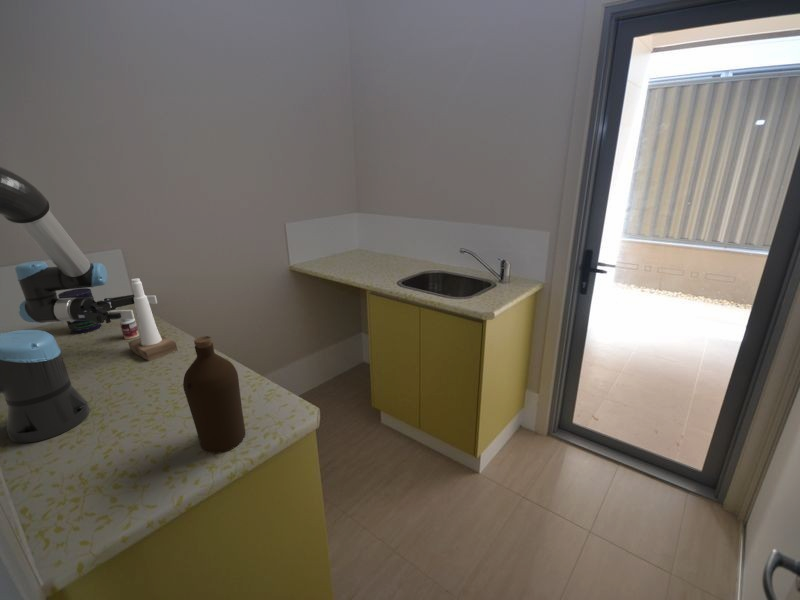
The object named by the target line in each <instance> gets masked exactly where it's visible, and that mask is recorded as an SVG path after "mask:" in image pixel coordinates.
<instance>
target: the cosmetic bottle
mask: <svg viewBox="0 0 800 600" xmlns="http://www.w3.org/2000/svg"><path fill="white" fill-rule="evenodd" d="M131 288H132V291H133V295H134V296H135V297H134V304H133V305H134V307H135V313H136V318H137V323H138V328H139V329H138V330H139V336H140V338H141V345H143V346H150V345H155V344H157V343H159V342H161V341H162V338H161V336H160V335H161V334H160V332H159V330H158V327H157V324H156V321H155V318H154V315H153V313H152V312H153V311H152V308H151V304H149V302H148V299H147V296H148V295H146V294H145V291H144V287H143V283H142V281H141V279H140V277H139V278H138V277H137V278H131Z"/></svg>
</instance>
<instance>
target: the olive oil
mask: <svg viewBox="0 0 800 600" xmlns="http://www.w3.org/2000/svg"><path fill="white" fill-rule="evenodd" d="M193 343H194V349H195V354H196V358H195V360H194V361H193V362H192V363H191V364H190V366H189V367H188V368H187V370H186V371H185V373H184V375H183V383H182V385H183V386H182V387H183V391H184V394H185V397H186V400H187V404H188V408H189V410H190V415H191V417H192V420H193V424H194V426H195V431H196V435H197V439H198V441H199V445H200V448H201V449H202V450H203V451H204V452H206V453H210V454H219V452H221V453H225V452H227V451H226V450H228V451H231V450H232V449H234V448H236V447H237V446H239V445H240V444H241V443H242V442H243V441H242V440H244V439H245V437H246V427H245V426H246V425H245V420H244V415H243V413H244V412H243V405H242V397H241V390H240V389H241V388H240V381H239V380H240V379H239V374H238V370H237V369H236V367H235V366H234V364H233V363H232V362H231V361H229V360H228V359H226V358H224V357H222V356H221V355H219V354H217V353H215V348H214V343H213V341H212V337H211V336H205V335H204V336H199V337H196V338H195V339H194V340H193ZM243 438H244V439H243ZM241 441H242V442H241ZM240 442H241V443H240ZM239 443H240V444H239ZM236 445H237V446H236ZM235 446H236V447H235ZM233 447H234V448H233ZM231 448H232V449H231ZM224 451H225V452H224Z"/></svg>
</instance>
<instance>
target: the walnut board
mask: <svg viewBox="0 0 800 600" xmlns="http://www.w3.org/2000/svg"><path fill="white" fill-rule="evenodd" d="M160 336H161V338H162V341H161V342H159V343H157V344H155V345H150V346H143V345H141V337H139V338H136V339H133V340H130V341H128V343H127V344H128V347H129V350H130V351H131V352H133V353H134V354H136V355H138V356H139V355H140V357H141V358H143V359H144V360H146V361H147V362H151V361H153V360H156V359H158V357H159V358H161V357H164V356H166V354H167V355H169V354H172V353H174V352H173V351H175V352H176V350H177V351H178V346H177V342H176V341H174V340H171V339H170V338H169V337H166V336H164V335H161V334H160ZM171 352H172V353H171ZM168 353H169V354H168ZM163 355H164V356H163ZM160 356H161V357H160ZM155 358H156V359H155Z"/></svg>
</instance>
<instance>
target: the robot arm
mask: <svg viewBox="0 0 800 600" xmlns="http://www.w3.org/2000/svg"><path fill="white" fill-rule="evenodd" d="M0 215H2V216H3V217H4V218H5V219H6V220H7V221H8V222H10V223H13V224H16V225H18V226H19V227H20V228H21V230H22V231H24V233H25V234H26V235H27V236H28V237H29V238H30V239H31V240H32V241H33V242H34V243H35V244H36V246H37V247H38V248H39V249H40V250H41V251H42V252H43V253H44V254H45V255H46V257H47V258H49V260H50V261H52V263H53V264H54V265H55V266H48V264H47V263H46V262H45V261H44V260H43V261H42V260H40V261H39V260H35V261H27V262H22V263H20V264H17V265H16V266H15V274H16V278H17V281H18V284H19V286H20V289H21V291H22V293H23V295H24V299H25V300H24V301H22V302H21V304H19V307H18V308H19V311H18V314H19V316H20V318H21V319H22V320H23V321H24V322H25V321H26V322H27V323H40V324H42V323H43V324H44V323H56V322H62V323H63V322H66V321H70V322H73V321H92V322H97V323H101V324H103V323H106V324H110V323H112V320H120V319H135V315H134V311H133V309H121V310H119V309H118V310H116V309H117V308H123V307H127V306H130V305H135V304H134V297H135V296H134V294H127V295H122V296H116V297H105V298H104V299H103V300H98V301H96V300H93V299H92V298H89V297H82V298H59V297H58V294H57V292H58V291H68V290H74V289H82V288H88V289H89V288H94V287H102V286H105V285H106V284H107V283H108V271H107V269H106V267H105V265H104V264H103V263H100V262H92V263H91V262H90V261H89V260H88V258H87V257H86V255H85V254H84V253H83V252H82V250H81V249H80V247H78V245H77V244H76V242H75V241H74V240H73V239H72V238H71V236H70V235H69V234H68V232H67V231H66V230H65V228H64V227H63V226H62V225H61V223H60V222H59V221H58V220H57V218H56V217H55V215H54V214H53V212H51V203H50V201H49V200H48V199H47V197H45V196H44V194H43V193H42V192H41V191H40V190H39V189H38V188H37V187H36V186H34V185H33V184H32V183H31V182H29V181H28V180H26V179H25V178H23V177H22V176H20V175H19V174H17V173H15V172H14V171H13V172H12V171H11V170H9V169H7V168H3V167H2V166H0ZM56 291H57V292H56ZM146 296H147V299H148V302H149V305H153V304H155V305H156V304H158V299H157V296H156V295H146ZM61 352H62V351H61V348H60V346H59V345H58V343H57V341H56V339H55V336H54V335H52V334H51V333H49V332H47V331H44V330H41V329H20V330H19V329H18V330H13V331H9V332H2V333H0V395H1V394H2V395H3V397H4V400H5V401H6V405H7V416H6V417H7V418H6V431H7V432H6V433H7V435H8V437H9V439H10V440H11V441H12V442H15V443H20V444H29V443H35V442H41V441H45V440H49V439H51V438H53V437H56V436H59V435H61V434H64V433H65V432H67V431H70V430H72V429H73V428H75V427H76V426H78V425H79V424H81V423H82V422H83V421H84V420H86V419H87V417H88V416H89V415H90V411H91V409H90V407H89V404H88V401H87V400H86V399H85V397H83V395H82V394H81V393H80V392H79V391H78V390H77V389H76V388H75V387H74V386H73V384H72V382H71V379H70V377H69V374H68V373H69V372H68V370H67V367H66V364H65V362H64V361H65V360H64V358H63V355H62V353H61Z"/></svg>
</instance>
